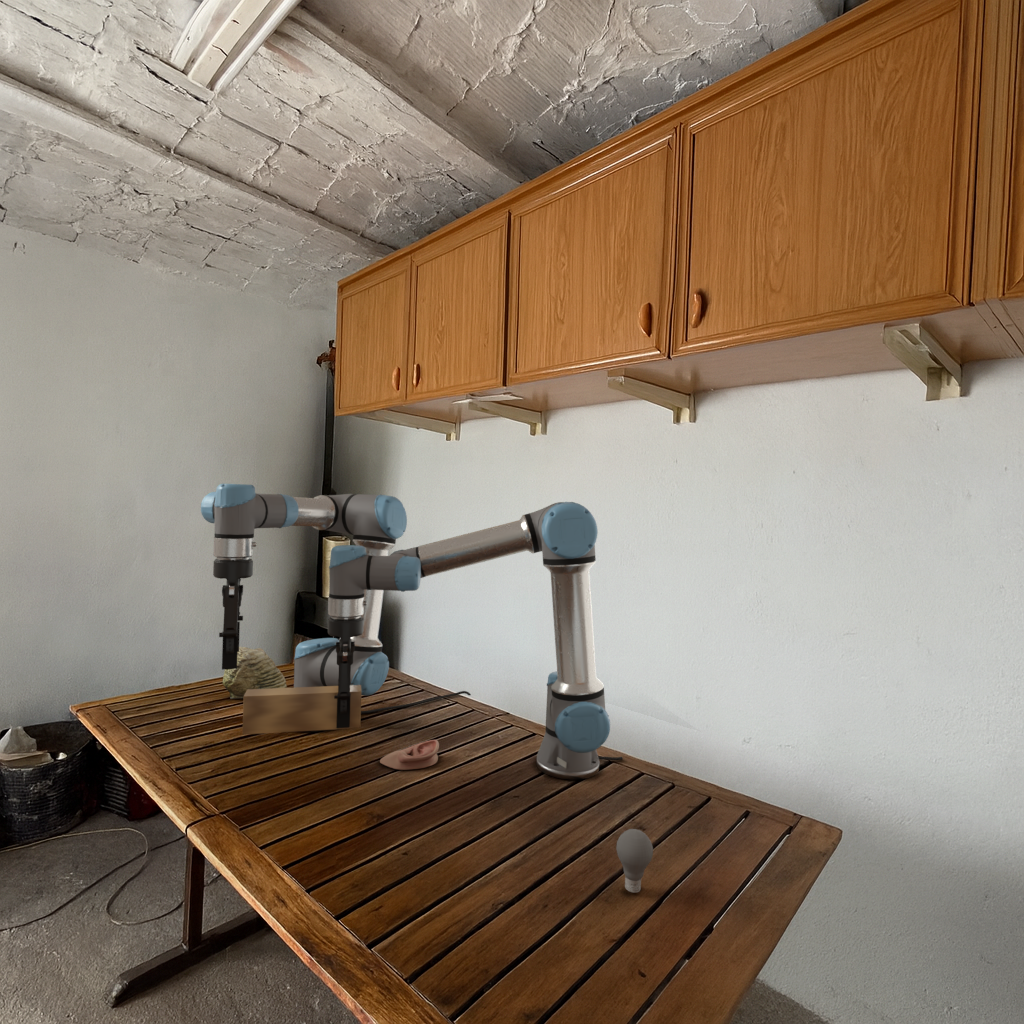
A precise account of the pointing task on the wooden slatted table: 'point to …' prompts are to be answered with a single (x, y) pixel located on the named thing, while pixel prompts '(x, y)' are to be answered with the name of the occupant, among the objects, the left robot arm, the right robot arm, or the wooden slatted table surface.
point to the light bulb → (634, 857)
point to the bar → (296, 709)
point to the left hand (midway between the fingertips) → (230, 659)
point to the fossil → (252, 673)
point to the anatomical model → (413, 756)
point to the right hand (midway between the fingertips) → (343, 722)
